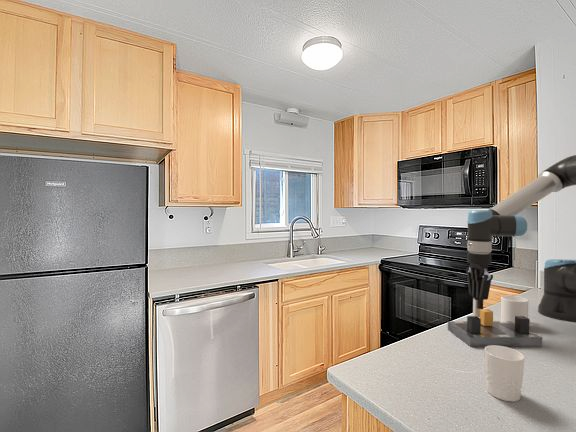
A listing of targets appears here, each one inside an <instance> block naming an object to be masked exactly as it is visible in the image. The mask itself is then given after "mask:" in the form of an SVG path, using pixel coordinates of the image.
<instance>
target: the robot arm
mask: <svg viewBox="0 0 576 432" xmlns="http://www.w3.org/2000/svg"><path fill="white" fill-rule="evenodd" d="M572 186H576V154H574V155H570V156H567V157H564V158H563V159H561V160H559V161H558V162H555V163H554V164H553V165H551V166H549V167H547V168H546V169H544V170H542V171H541V172H540V173H539V174H538V176H537V177H536V178H535V179H534V180H533V181H531V182H529V183H528V184H526V185H525V186H523V187H522V188H520V189H518V190H516V192H514V193H512V194H511V195H509V196H508V197H506V198H505V199H503V200H501V201H500V202H498V203H496V204H495V205H494V206H493V207H491V208H489V209H488V210H487V209H485V210H482V209H479V210H478V209H473V210H471V209H470V210H469V211H468V215H467V222H466V223H467V242H466V247H467V249H466V250H467V251H468V252H467V254H466V262H467V263H469V267H466V268H465V272H466V277H467V286H468V294H469V295H470V296H471V298H472V316H477V317H478V318H480V309H484V301H485V300H486V301H487V300H488V298H489V294H490V288H491V284H492V280H493V279H494V275H493V274H490V273H489V268H488V266H489V265H491V264H492V254H491V252H492V251H493V249H492V247H493V246H492V245H493V243H492V239H493V237H512V238H513V237H522V236H524V235H525V234H526V233H527V232H528V222H527V220H526V218H525V217H524V216H522V215H519V214H520V213H522V212H523V211H525V210H526V209H528V208H530V207H531V206H533V205H535V204H536V203H537V202H539V201H541V200H542V199H544V198H545V197H547V196H548V195H550V194H551V193H557V192H560V191H561V190H563V189H565V188H569V187H572ZM537 312H538V313H539V314H540V315H543V316H546V317H549V318H553V319H556V320H562V321H567V322H576V259H554V258H553V259H546V260H545V262H544V268H543V295H542V298H541V300H540V302H539V304H538V307H537Z"/></svg>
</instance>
